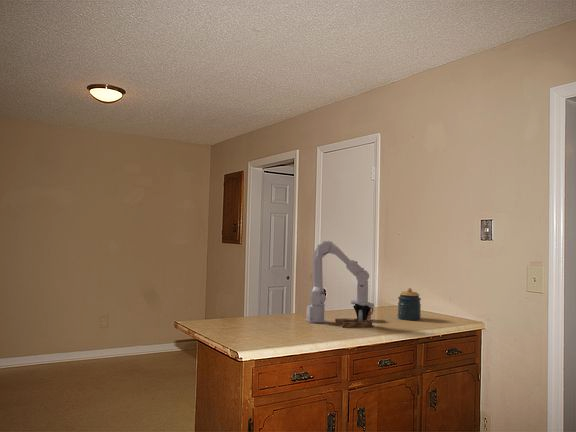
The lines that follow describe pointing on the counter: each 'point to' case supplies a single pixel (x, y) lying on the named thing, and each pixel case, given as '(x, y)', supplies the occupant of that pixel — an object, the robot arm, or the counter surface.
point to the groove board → (352, 323)
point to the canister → (409, 305)
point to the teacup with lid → (368, 314)
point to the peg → (361, 316)
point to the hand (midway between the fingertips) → (361, 319)
